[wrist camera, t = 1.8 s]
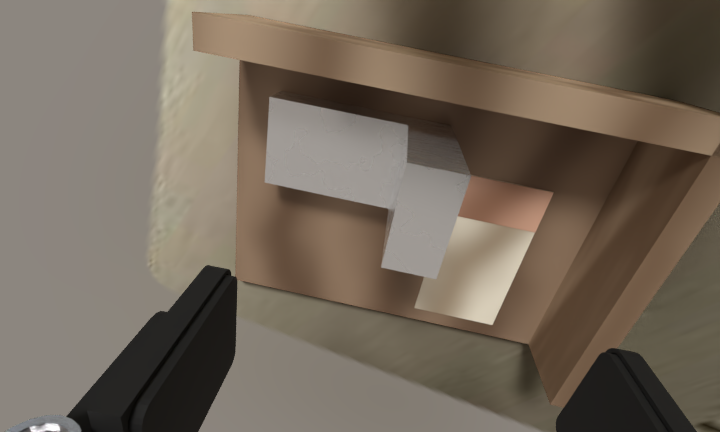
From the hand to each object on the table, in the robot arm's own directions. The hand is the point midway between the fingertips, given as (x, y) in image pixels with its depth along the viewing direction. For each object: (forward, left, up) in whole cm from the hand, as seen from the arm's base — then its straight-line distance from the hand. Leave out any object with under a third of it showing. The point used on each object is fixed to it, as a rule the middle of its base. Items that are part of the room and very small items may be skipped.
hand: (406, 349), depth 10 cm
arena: (-1, +3, -16) cm, 16 cm away
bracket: (+3, 0, -15) cm, 15 cm away
